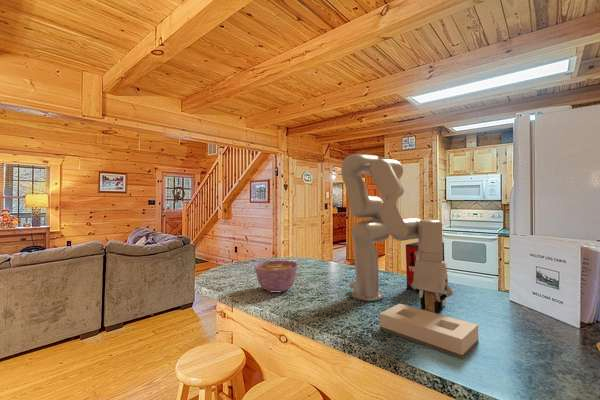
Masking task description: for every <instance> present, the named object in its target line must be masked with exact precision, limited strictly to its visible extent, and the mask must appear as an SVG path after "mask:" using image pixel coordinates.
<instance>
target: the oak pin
mask: <svg viewBox="0 0 600 400" xmlns="http://www.w3.org/2000/svg"><path fill="white" fill-rule="evenodd" d="M435 301H437V300H436V294H435V293H433V292H429V291H425V309H424V310H425V311H429V312H433V313H435ZM436 314H437V313H436Z"/></svg>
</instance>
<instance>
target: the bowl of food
mask: <svg viewBox="0 0 600 400" xmlns="http://www.w3.org/2000/svg"><path fill="white" fill-rule="evenodd" d="M298 265H299V263H297V262H295V261H291V260H269V261H262V262H259V263H256V264H255V265H254V270H255V273H256V277H257V280H258V284H259V285H260V287H261V288H262V289H264V290H266V291H268V292H269V291H283V290H285V291H286V290H288V289H290V288H291V287H292V286H293V285H294V283H295V280H296V277H297V271H298ZM283 292H284V291H283Z"/></svg>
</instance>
